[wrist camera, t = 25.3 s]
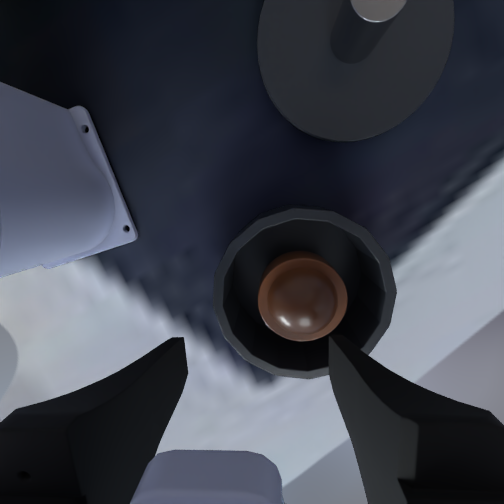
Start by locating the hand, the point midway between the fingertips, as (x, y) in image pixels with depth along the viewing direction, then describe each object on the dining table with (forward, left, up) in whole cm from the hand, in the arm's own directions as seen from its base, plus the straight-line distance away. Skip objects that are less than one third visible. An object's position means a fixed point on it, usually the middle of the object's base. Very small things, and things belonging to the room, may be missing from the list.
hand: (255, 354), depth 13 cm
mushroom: (-1, +3, -7) cm, 8 cm away
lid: (-14, +10, -7) cm, 18 cm away
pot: (-1, +3, -7) cm, 8 cm away
